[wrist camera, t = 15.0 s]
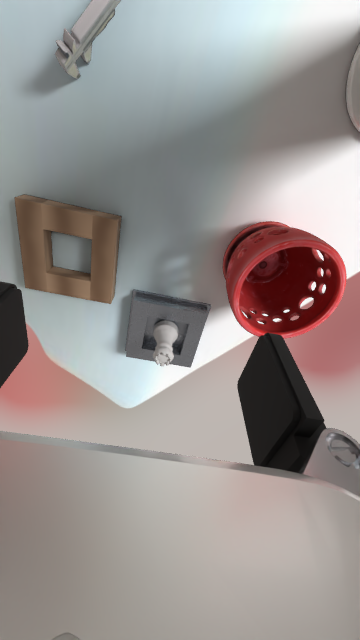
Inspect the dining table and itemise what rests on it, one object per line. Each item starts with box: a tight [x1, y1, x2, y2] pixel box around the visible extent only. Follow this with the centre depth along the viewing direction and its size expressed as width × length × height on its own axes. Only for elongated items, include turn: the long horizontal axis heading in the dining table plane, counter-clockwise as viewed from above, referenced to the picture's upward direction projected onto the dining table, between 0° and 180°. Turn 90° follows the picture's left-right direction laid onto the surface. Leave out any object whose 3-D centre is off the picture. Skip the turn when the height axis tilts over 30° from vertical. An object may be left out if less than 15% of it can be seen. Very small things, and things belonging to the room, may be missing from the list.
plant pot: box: [223, 221, 346, 339], centre depth 35 cm, size 13×13×12 cm
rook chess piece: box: [153, 320, 179, 366], centre depth 44 cm, size 4×4×8 cm
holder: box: [125, 290, 211, 367], centre depth 47 cm, size 13×13×2 cm
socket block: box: [15, 194, 121, 304], centre depth 39 cm, size 13×13×2 cm
